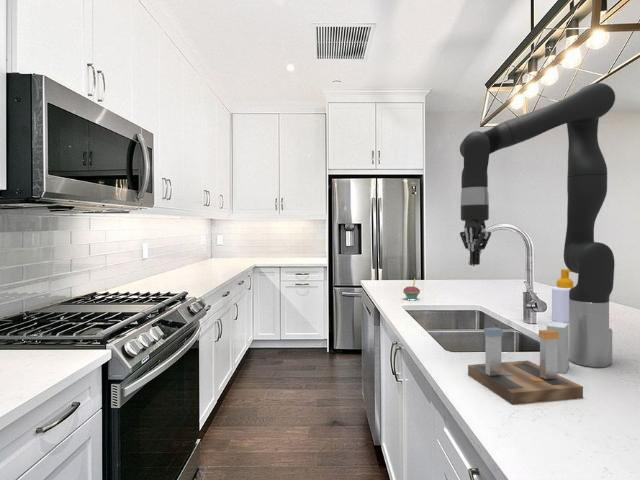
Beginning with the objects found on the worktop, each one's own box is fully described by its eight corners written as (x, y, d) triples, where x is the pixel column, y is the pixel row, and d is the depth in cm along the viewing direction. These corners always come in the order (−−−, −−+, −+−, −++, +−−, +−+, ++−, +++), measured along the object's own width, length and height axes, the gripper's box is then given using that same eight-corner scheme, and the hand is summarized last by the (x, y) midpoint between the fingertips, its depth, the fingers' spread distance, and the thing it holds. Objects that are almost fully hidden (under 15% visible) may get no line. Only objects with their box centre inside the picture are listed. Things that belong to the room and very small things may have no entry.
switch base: (527, 369, 107) (527, 359, 107) (583, 397, 89) (583, 385, 89) (468, 374, 104) (468, 364, 104) (512, 404, 86) (512, 392, 86)
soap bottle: (569, 324, 155) (570, 271, 155) (546, 320, 162) (546, 270, 161) (582, 319, 164) (582, 268, 163) (560, 316, 170) (560, 267, 169)
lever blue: (497, 372, 98) (497, 327, 97) (502, 375, 95) (502, 329, 95) (484, 373, 97) (484, 328, 97) (489, 376, 95) (489, 330, 95)
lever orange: (551, 375, 95) (551, 329, 95) (558, 378, 93) (558, 331, 93) (538, 376, 94) (538, 330, 94) (545, 379, 92) (545, 332, 92)
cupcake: (422, 299, 214) (421, 276, 214) (416, 301, 207) (416, 278, 207) (406, 298, 219) (406, 275, 219) (400, 300, 212) (400, 277, 211)
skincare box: (550, 364, 111) (551, 320, 110) (569, 367, 108) (569, 322, 108) (546, 370, 106) (546, 325, 106) (565, 374, 103) (565, 327, 103)
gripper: (500, 202, 110) (500, 266, 111) (474, 205, 123) (474, 262, 124) (474, 202, 109) (475, 267, 109) (451, 205, 122) (451, 263, 122)
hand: (474, 264), depth 116 cm, fingers closed
